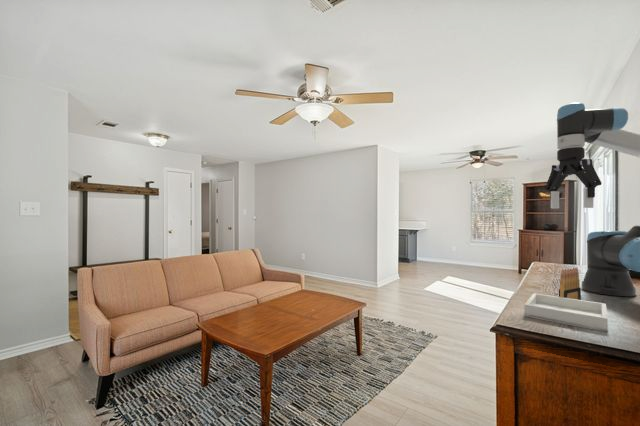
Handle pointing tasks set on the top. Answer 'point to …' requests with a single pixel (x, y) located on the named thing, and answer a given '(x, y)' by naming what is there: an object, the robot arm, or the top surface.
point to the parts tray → (567, 311)
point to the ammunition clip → (570, 284)
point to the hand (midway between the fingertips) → (570, 208)
